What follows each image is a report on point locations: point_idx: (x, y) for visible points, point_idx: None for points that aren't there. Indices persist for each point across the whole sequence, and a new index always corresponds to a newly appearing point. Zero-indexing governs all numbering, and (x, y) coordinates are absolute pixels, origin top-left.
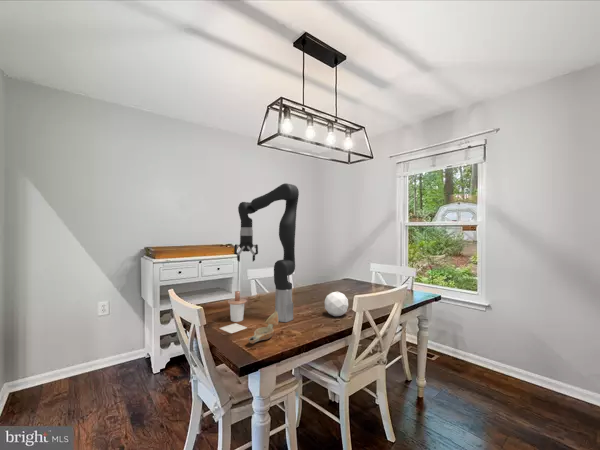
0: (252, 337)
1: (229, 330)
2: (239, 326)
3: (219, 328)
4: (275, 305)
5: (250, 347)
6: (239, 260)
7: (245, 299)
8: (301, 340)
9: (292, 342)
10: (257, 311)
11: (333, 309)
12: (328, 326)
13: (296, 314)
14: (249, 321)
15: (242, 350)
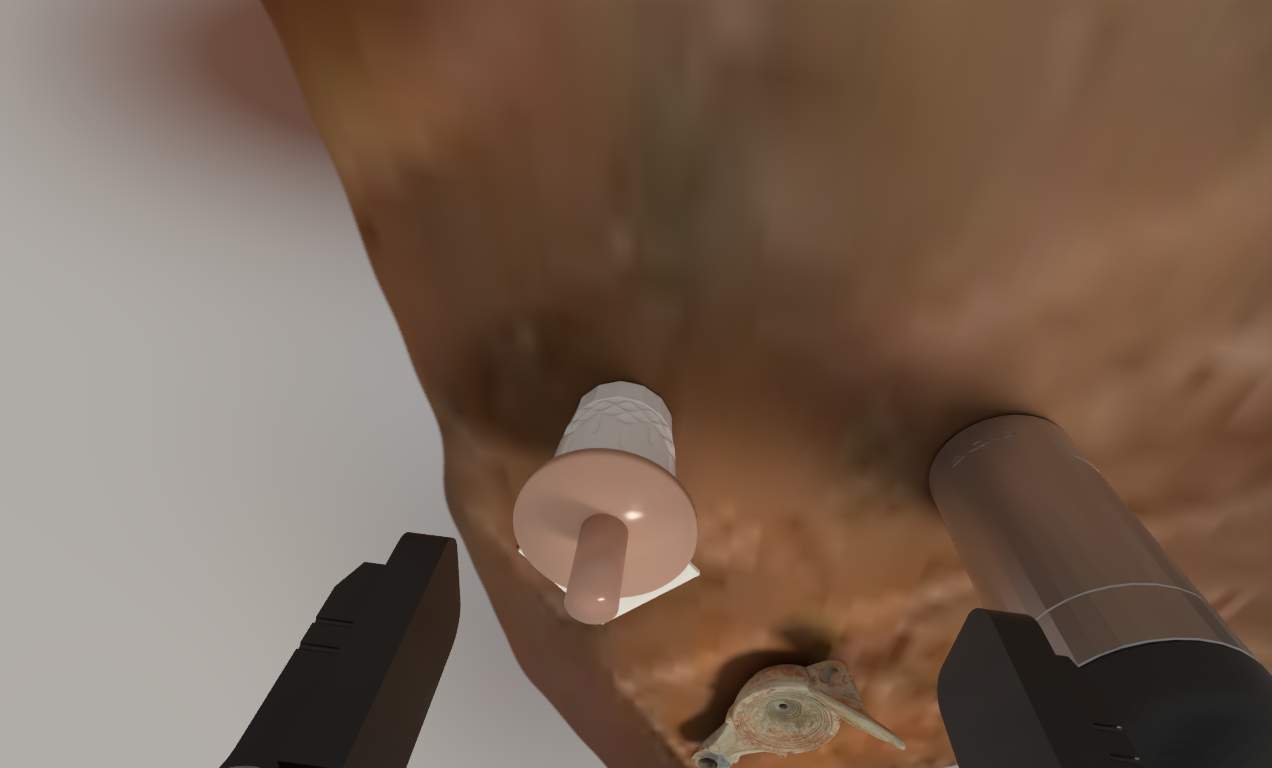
0: (712, 755)
1: None
2: None
3: (520, 552)
4: (969, 558)
5: (701, 742)
6: (447, 641)
7: (686, 512)
8: None
9: (907, 744)
10: (826, 218)
11: None
12: (1245, 636)
13: (1182, 377)
14: (720, 461)
15: (665, 754)
